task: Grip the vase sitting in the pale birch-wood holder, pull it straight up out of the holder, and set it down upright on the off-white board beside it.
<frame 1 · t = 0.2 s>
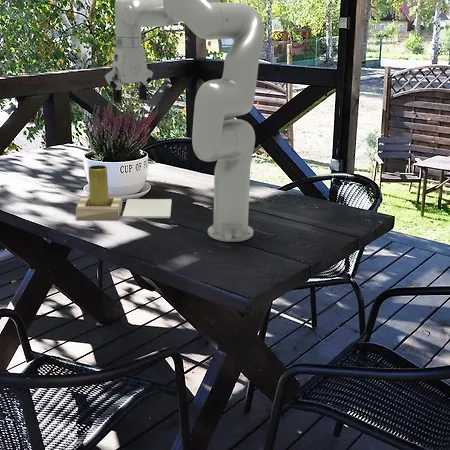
hand: (130, 101, 185), 31 cm above the table, tool pointing down, fingers open, 9 cm apart
holder: (100, 213, 180), on the table
board: (148, 209, 184), on the table
vase: (100, 214, 180), resting in holder
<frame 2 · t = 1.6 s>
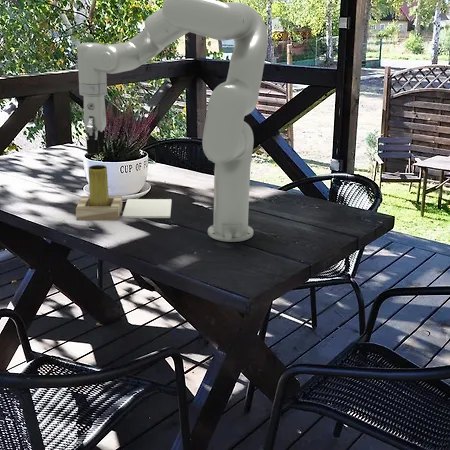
hand: (95, 149, 173), 19 cm above the table, tool pointing down, fingers open, 9 cm apart
nothing on the table moved.
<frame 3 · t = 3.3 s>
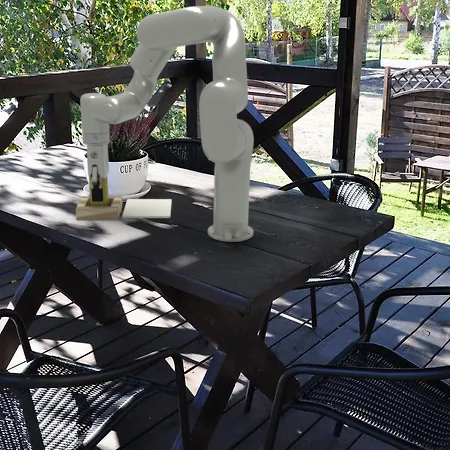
hand: (99, 197, 178), 5 cm above the table, tool pointing down, fingers closed on vase, 5 cm apart
vase: (100, 214, 180), resting in holder, touching gripper
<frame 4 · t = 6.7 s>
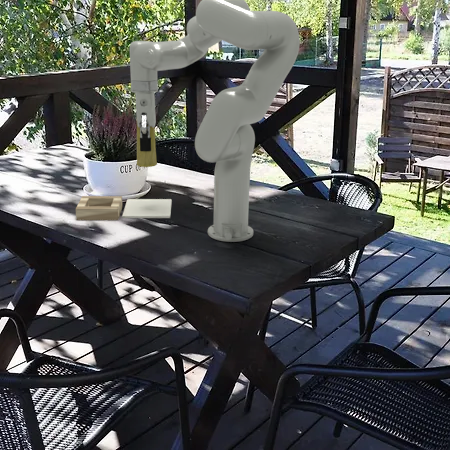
hand: (146, 148, 177), 19 cm above the table, tool pointing down, fingers closed on vase, 5 cm apart
vase: (146, 165, 179), point 14 cm above the table, touching gripper
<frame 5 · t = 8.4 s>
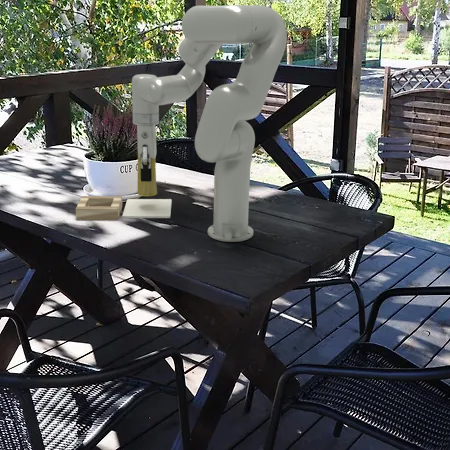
hand: (146, 177, 181), 10 cm above the table, tool pointing down, fingers closed on vase, 5 cm apart
vase: (147, 194, 183), point 5 cm above the table, touching gripper
when the fingers open (7 cm above the table, at t = 9.9 s): vase drops 1 cm, resting on board.
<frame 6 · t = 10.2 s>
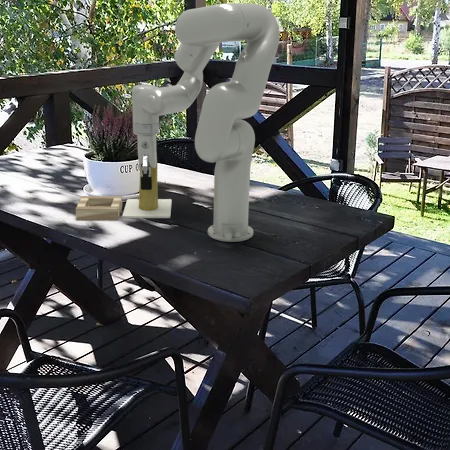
hand: (147, 184, 181), 8 cm above the table, tool pointing down, fingers open, 8 cm apart
vase: (148, 207, 184), resting on board
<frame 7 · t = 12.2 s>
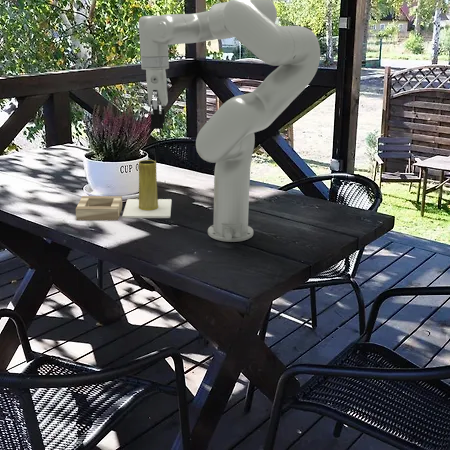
hand: (158, 125, 170), 27 cm above the table, tool pointing down, fingers open, 9 cm apart
nothing on the table moved.
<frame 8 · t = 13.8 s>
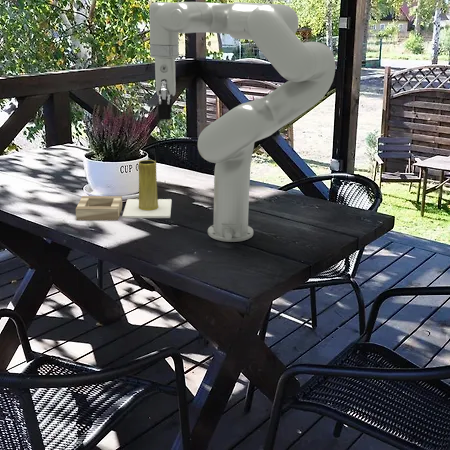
hand: (165, 115, 166), 30 cm above the table, tool pointing down, fingers open, 9 cm apart
nothing on the table moved.
at the end: vase inside the target area on the board (0.2 cm from its centre), point 0.4 cm above the board's base; vase tilted 0°; the gripper is holding nothing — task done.
